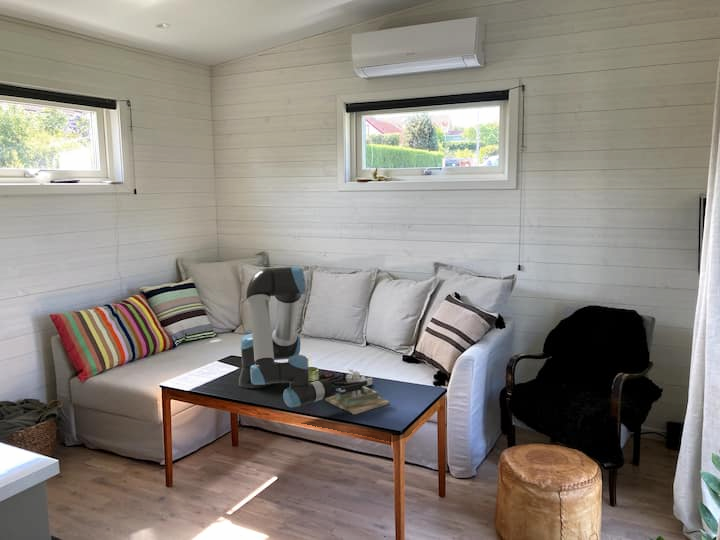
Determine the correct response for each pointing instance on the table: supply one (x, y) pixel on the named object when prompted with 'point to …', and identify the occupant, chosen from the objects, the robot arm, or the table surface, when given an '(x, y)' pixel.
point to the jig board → (357, 401)
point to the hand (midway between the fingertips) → (365, 378)
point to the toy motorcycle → (328, 376)
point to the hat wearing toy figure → (355, 378)
